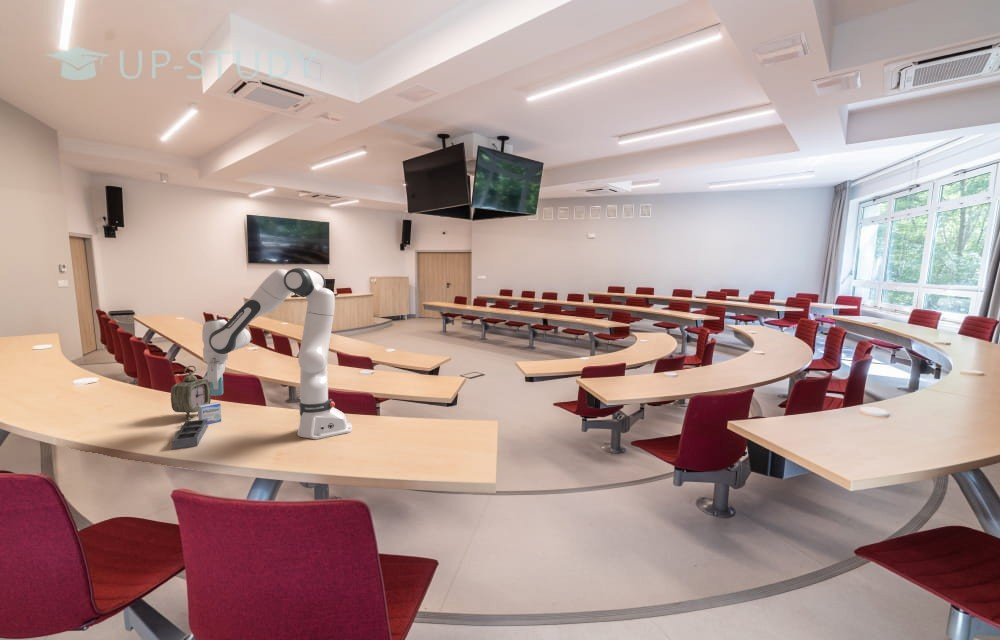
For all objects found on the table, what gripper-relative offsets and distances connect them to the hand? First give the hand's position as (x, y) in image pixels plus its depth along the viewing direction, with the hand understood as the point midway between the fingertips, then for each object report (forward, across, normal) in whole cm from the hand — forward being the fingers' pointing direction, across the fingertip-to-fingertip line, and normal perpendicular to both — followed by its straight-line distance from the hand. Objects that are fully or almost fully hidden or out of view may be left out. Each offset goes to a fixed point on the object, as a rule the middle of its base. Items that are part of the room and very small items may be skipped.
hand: (217, 387), depth 182 cm
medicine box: (+19, +12, +5) cm, 24 cm away
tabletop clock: (+19, +24, +14) cm, 34 cm away
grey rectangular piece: (+19, -6, +9) cm, 22 cm away
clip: (+3, 0, 0) cm, 3 cm away
